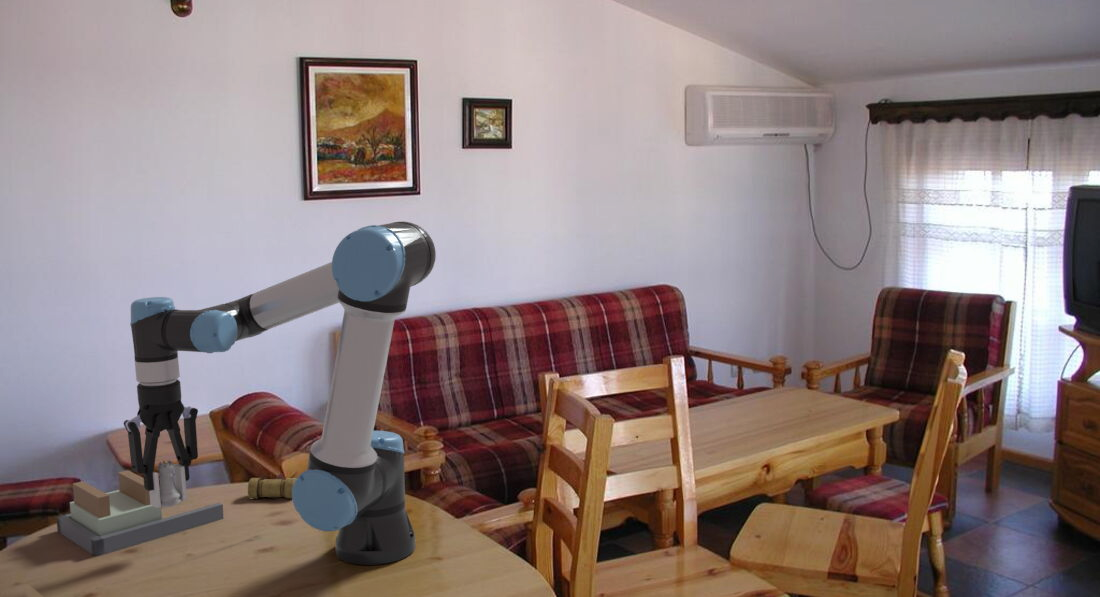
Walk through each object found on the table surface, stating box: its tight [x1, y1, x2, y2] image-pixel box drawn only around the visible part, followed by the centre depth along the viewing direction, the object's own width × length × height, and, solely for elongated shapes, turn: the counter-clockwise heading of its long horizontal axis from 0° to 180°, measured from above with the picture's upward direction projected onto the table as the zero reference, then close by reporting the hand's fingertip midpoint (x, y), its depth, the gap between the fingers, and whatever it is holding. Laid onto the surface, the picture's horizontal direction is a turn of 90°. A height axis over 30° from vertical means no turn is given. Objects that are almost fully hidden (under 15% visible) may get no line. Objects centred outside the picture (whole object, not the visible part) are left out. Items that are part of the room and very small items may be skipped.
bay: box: [56, 500, 225, 558], centre depth 203 cm, size 18×26×4 cm
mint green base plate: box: [69, 469, 163, 536], centre depth 199 cm, size 14×12×10 cm
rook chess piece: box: [156, 460, 181, 508], centre depth 189 cm, size 4×4×8 cm
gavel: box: [247, 472, 297, 499], centre depth 230 cm, size 21×5×10 cm
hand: (168, 501), depth 189 cm, fingers closed on rook chess piece, 4 cm apart
